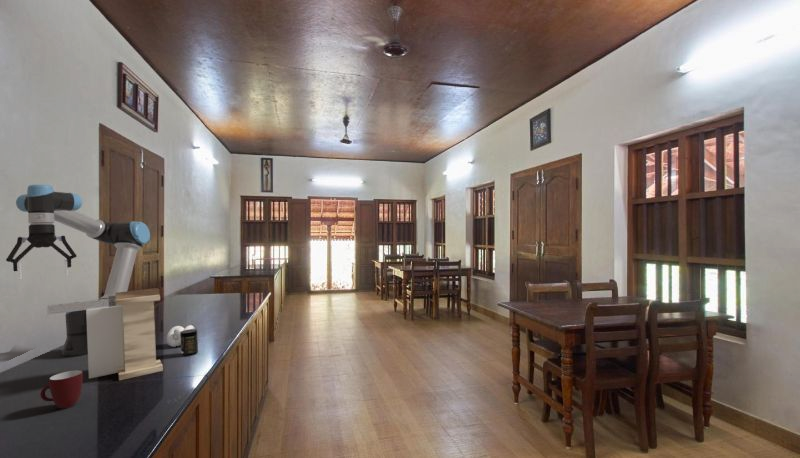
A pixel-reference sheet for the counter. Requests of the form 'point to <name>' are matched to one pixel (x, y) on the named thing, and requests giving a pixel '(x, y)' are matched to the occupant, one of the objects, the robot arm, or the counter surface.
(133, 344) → the stand
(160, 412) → the counter surface
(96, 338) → the block
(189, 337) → the supplement container
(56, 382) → the mug
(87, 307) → the steel bar
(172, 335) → the white twisted tube knot
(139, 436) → the counter surface
